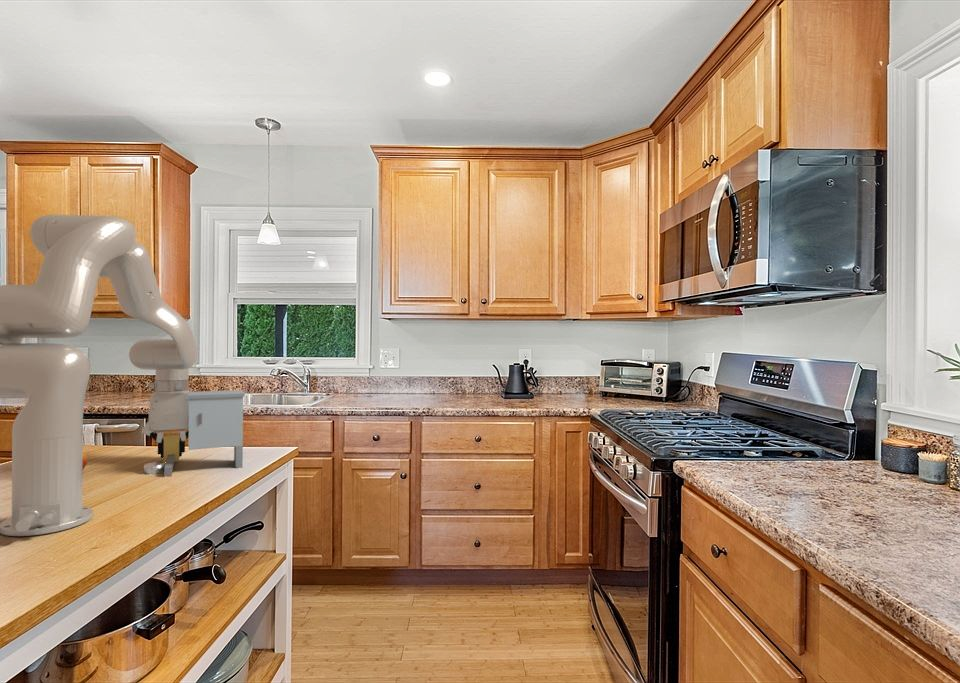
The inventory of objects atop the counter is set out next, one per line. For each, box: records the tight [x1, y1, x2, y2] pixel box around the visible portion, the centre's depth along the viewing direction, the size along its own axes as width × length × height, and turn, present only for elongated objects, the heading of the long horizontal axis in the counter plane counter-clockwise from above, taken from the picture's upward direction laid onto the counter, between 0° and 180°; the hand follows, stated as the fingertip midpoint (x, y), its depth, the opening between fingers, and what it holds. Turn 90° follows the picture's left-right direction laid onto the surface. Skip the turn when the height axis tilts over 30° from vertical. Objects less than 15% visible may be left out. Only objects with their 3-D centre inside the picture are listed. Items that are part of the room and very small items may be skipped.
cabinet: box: [187, 389, 246, 469], centre depth 132 cm, size 9×13×19 cm
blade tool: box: [163, 432, 181, 478], centre depth 130 cm, size 19×4×7 cm, turn 28°
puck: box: [143, 461, 166, 475], centre depth 126 cm, size 4×4×2 cm
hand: (171, 455), depth 137 cm, fingers closed on blade tool, 3 cm apart
